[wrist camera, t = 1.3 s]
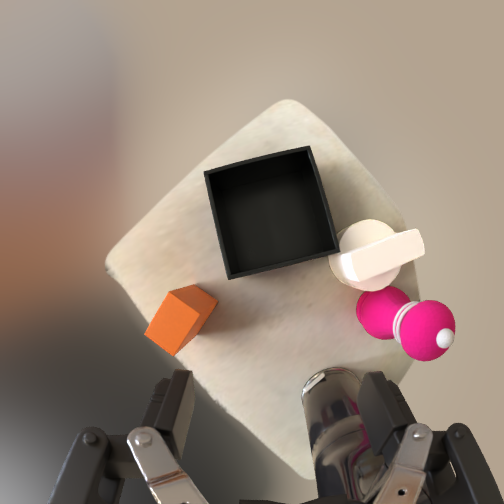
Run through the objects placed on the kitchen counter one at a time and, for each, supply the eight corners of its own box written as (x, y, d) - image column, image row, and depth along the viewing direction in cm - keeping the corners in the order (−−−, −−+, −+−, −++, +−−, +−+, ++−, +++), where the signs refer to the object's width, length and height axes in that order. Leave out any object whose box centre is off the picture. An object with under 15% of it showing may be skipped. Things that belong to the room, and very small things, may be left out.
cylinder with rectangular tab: (374, 217, 38) (409, 201, 26) (392, 274, 38) (433, 279, 26) (319, 236, 39) (338, 226, 27) (339, 296, 38) (364, 310, 26)
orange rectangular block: (218, 301, 40) (200, 314, 30) (196, 335, 40) (173, 356, 30) (193, 284, 40) (168, 291, 30) (172, 318, 40) (143, 334, 30)
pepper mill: (396, 282, 38) (481, 294, 18) (394, 329, 37) (472, 371, 17) (353, 284, 38) (420, 302, 18) (351, 333, 38) (411, 387, 18)
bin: (326, 253, 39) (340, 252, 30) (238, 275, 40) (227, 280, 31) (303, 168, 39) (309, 145, 31) (217, 189, 40) (203, 171, 32)
